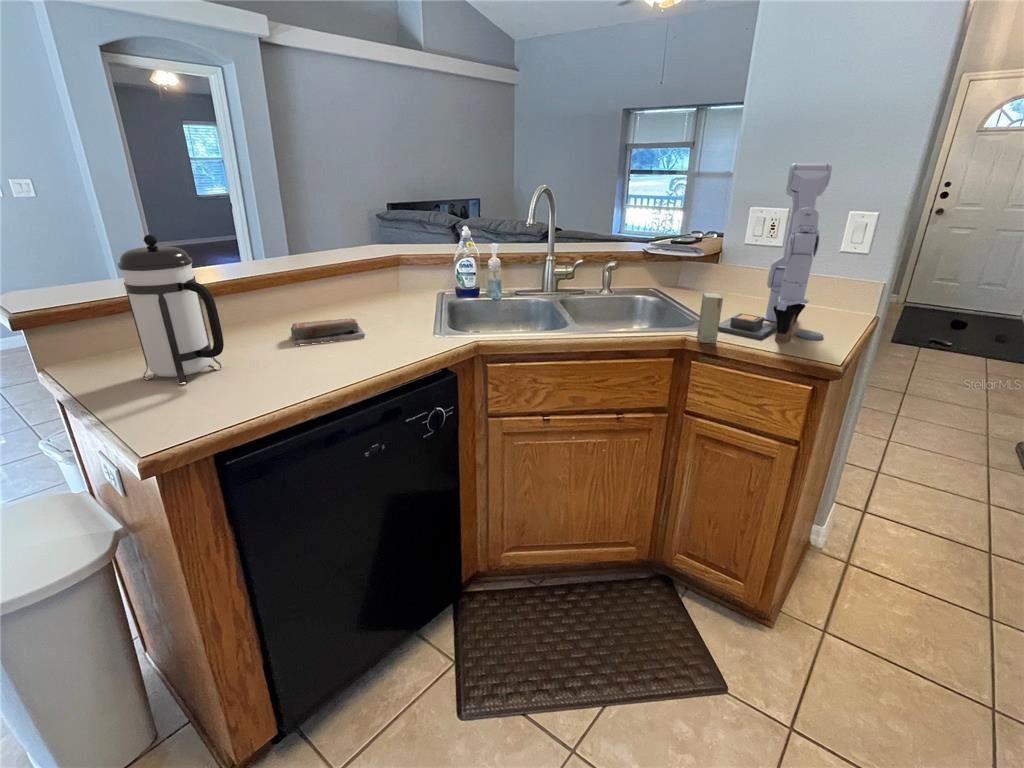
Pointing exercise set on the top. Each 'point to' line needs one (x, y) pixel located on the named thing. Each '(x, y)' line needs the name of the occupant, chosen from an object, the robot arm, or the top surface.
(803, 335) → the coaster
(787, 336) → the brown wooden block
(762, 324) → the grey square socket base
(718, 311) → the skincare box
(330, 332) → the packaged product
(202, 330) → the coffee press
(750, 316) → the orange button
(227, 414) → the top surface
